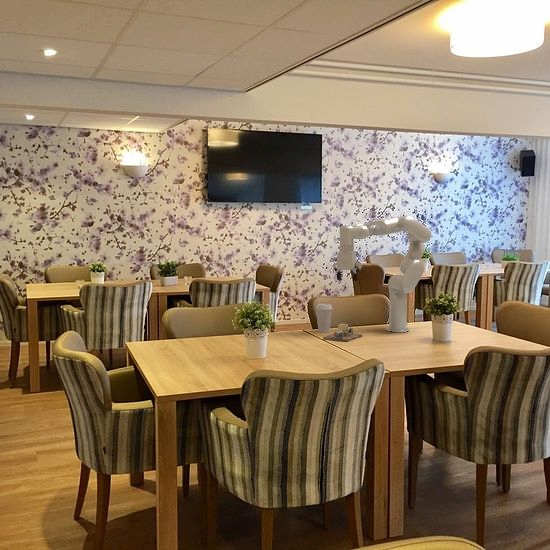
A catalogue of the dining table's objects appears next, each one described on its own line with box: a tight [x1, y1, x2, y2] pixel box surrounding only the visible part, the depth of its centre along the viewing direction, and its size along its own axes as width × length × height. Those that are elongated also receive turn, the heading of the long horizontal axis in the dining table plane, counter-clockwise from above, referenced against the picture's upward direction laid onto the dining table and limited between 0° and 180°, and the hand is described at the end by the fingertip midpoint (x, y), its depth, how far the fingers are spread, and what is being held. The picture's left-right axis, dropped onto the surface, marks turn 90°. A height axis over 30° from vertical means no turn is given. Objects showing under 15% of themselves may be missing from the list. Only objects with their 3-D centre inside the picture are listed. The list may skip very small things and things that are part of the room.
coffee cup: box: [315, 303, 333, 333], centre depth 349 cm, size 10×10×15 cm
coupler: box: [337, 323, 349, 337], centre depth 329 cm, size 4×5×6 cm
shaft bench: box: [322, 326, 363, 343], centre depth 329 cm, size 18×14×4 cm
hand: (347, 280), depth 339 cm, fingers open, 9 cm apart
